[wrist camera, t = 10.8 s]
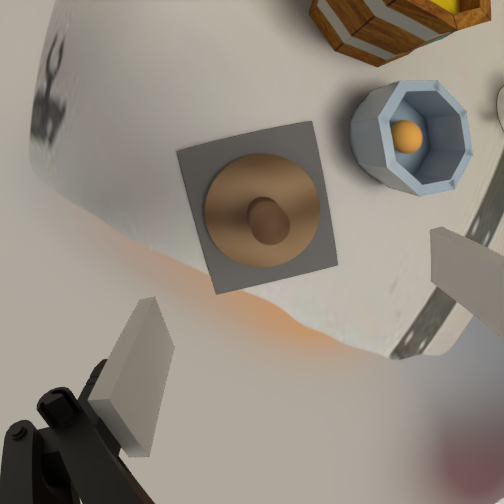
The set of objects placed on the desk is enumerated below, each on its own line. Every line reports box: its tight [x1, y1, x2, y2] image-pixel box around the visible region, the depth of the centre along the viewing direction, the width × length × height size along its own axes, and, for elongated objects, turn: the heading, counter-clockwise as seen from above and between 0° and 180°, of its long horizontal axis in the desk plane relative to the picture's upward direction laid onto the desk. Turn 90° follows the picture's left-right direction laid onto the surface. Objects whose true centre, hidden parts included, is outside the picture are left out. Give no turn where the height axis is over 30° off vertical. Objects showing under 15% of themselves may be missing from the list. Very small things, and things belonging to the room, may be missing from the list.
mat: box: [177, 121, 338, 294], centre depth 33 cm, size 16×14×1 cm
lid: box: [205, 154, 320, 268], centre depth 29 cm, size 12×12×7 cm
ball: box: [391, 120, 423, 154], centre depth 28 cm, size 4×4×4 cm
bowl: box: [349, 80, 473, 196], centre depth 28 cm, size 10×10×8 cm
